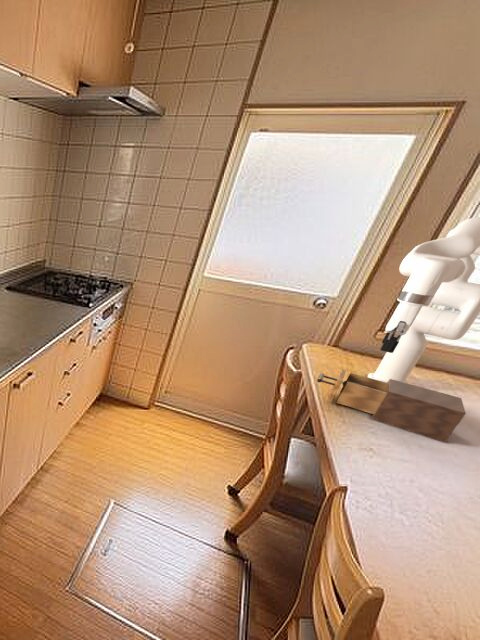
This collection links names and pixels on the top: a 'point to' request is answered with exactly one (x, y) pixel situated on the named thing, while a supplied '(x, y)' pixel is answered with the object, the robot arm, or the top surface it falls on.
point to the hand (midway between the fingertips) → (386, 347)
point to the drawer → (358, 392)
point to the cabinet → (420, 410)
